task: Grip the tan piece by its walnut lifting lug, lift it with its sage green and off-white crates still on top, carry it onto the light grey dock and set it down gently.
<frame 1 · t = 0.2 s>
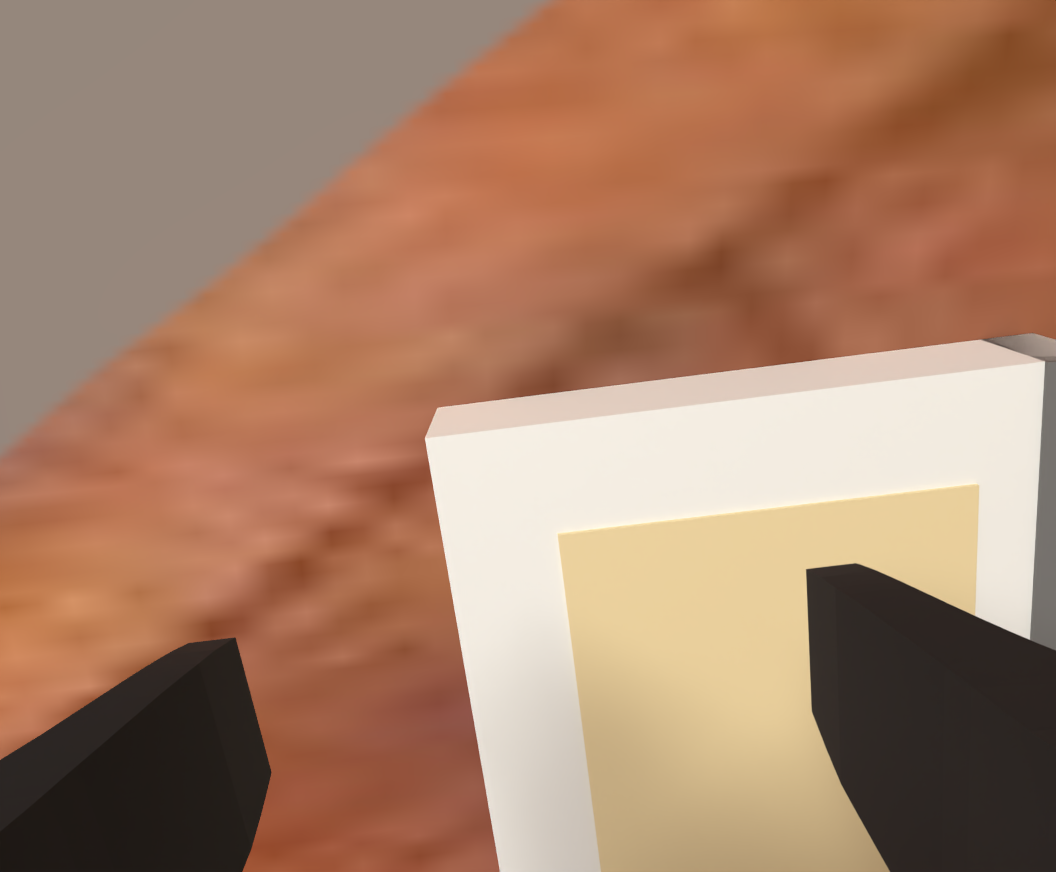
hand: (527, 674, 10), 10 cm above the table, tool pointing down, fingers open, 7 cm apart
dock: (752, 729, 22), on the table
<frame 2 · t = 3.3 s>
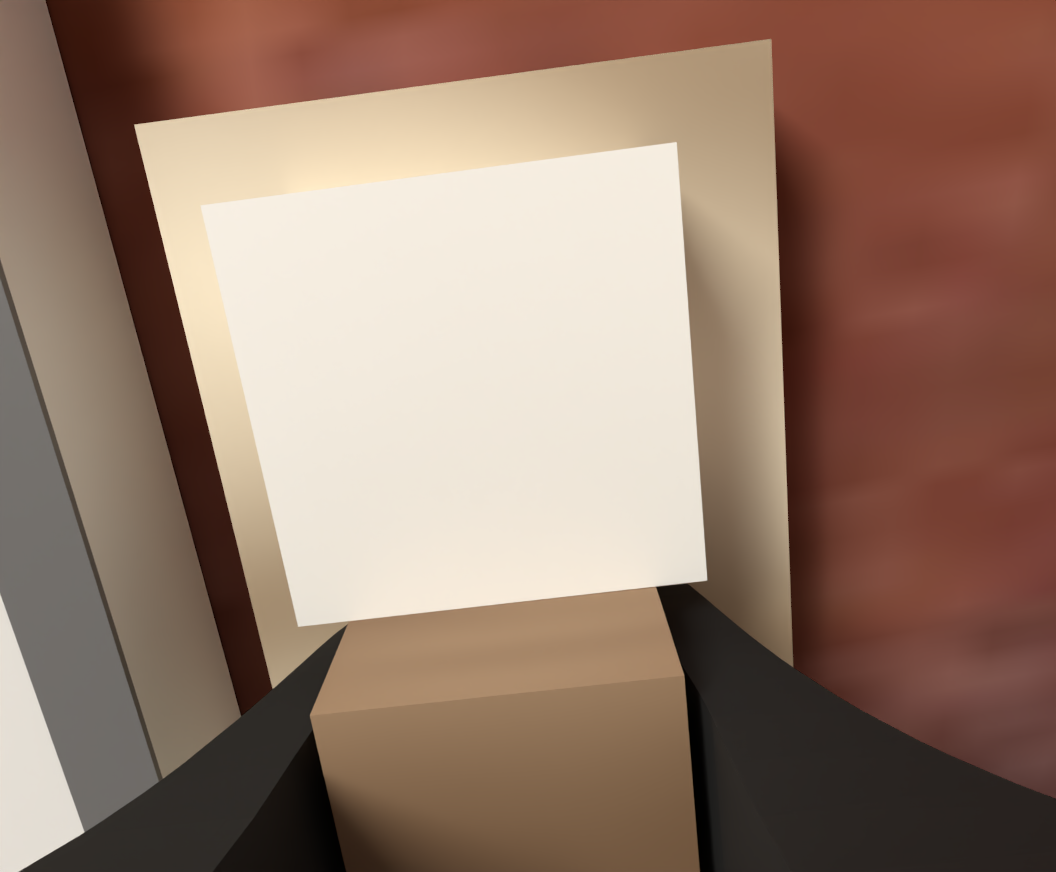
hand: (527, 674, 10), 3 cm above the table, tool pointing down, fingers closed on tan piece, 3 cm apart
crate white: (485, 352, 10), point 2 cm above the table, touching tan piece
tan piece: (527, 578, 13), on the table, touching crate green, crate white, gripper
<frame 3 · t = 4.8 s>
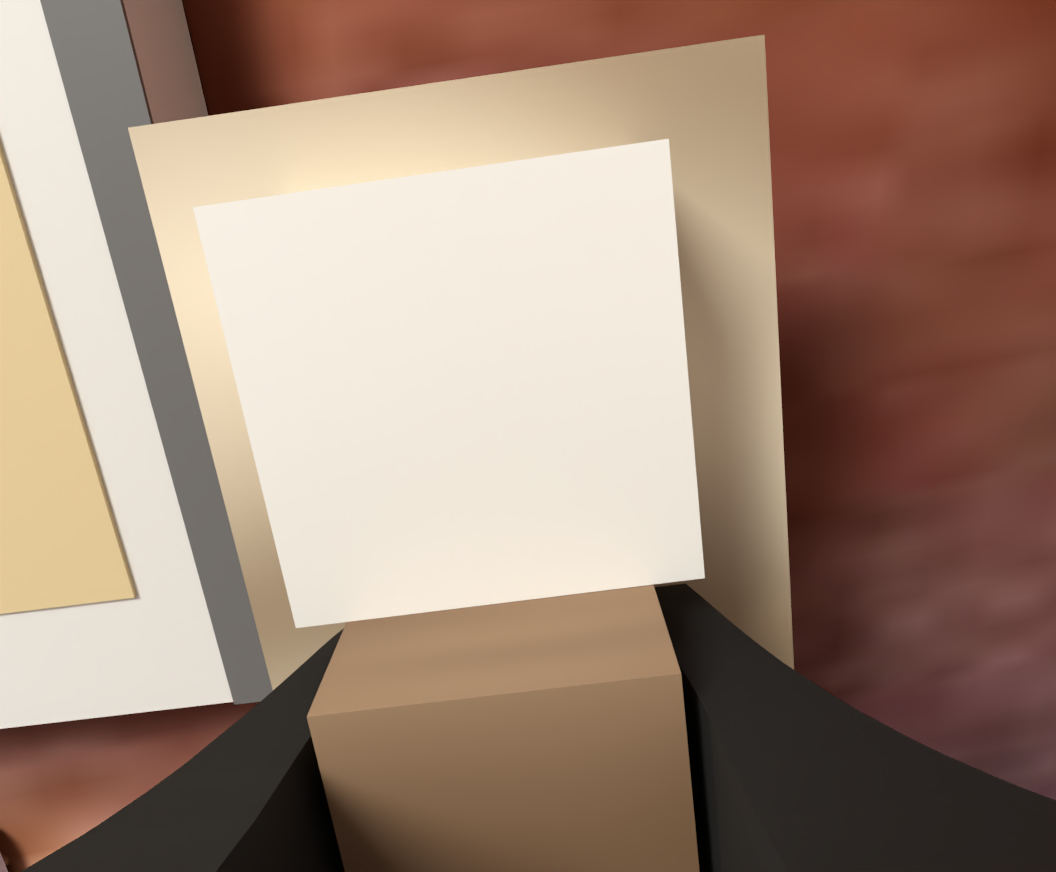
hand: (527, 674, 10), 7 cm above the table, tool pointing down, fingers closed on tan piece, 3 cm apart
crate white: (481, 352, 10), point 7 cm above the table, touching tan piece
tan piece: (527, 578, 13), point 5 cm above the table, touching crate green, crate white, gripper
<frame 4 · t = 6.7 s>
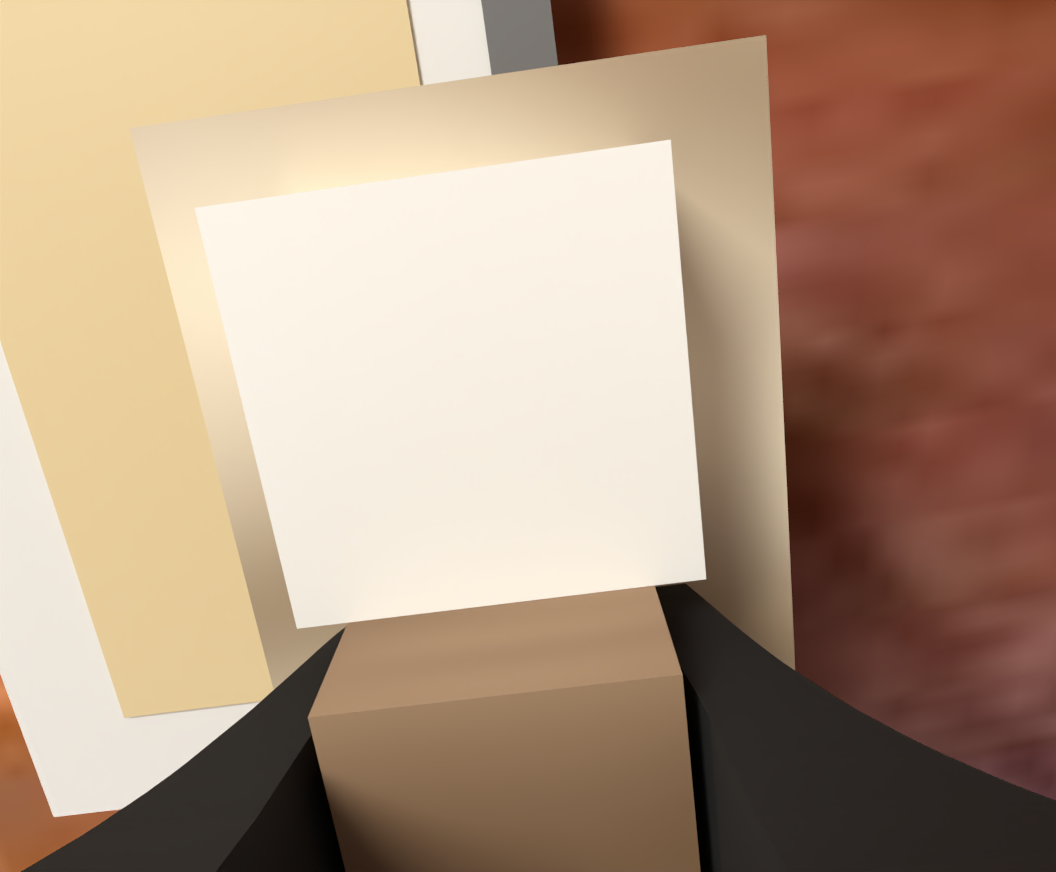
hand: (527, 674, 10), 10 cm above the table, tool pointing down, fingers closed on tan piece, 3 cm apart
dock: (276, 345, 19), on the table
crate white: (482, 352, 10), point 9 cm above the table, touching tan piece
tan piece: (528, 578, 13), point 7 cm above the table, touching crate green, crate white, gripper
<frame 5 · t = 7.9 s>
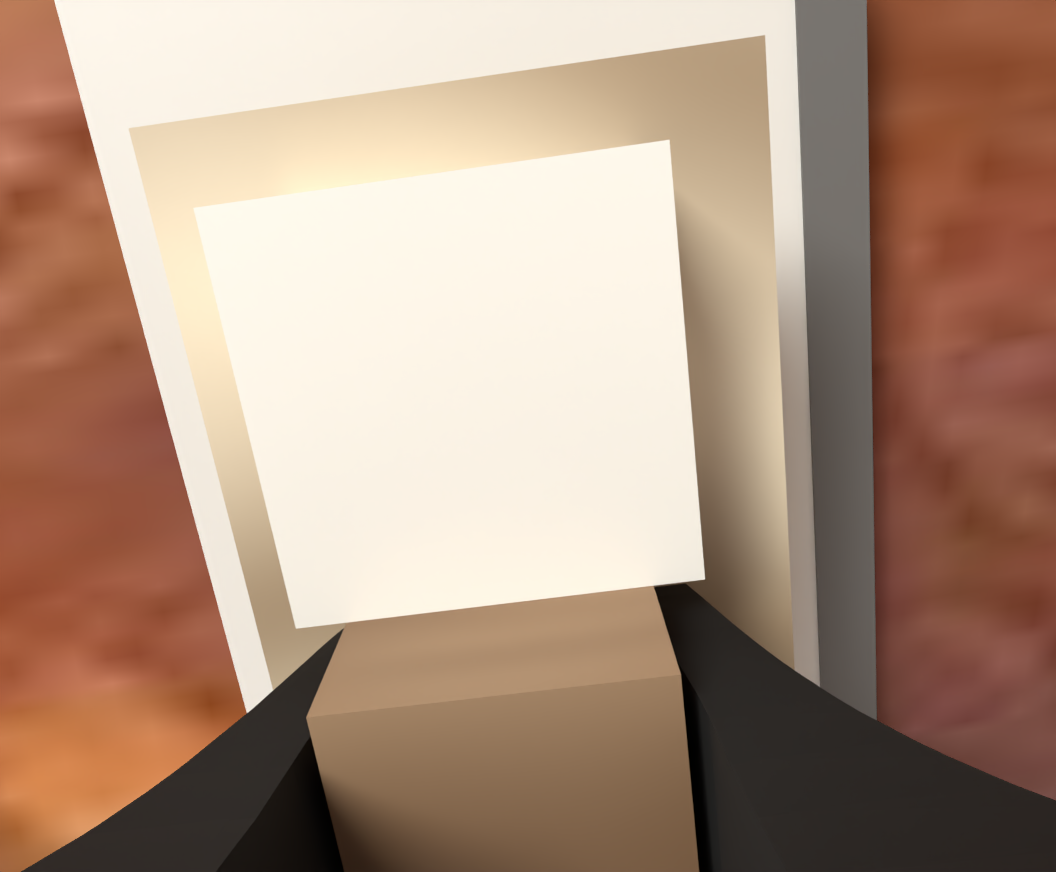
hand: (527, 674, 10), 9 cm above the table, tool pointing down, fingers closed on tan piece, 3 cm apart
dock: (528, 448, 19), on the table
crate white: (482, 352, 10), point 9 cm above the table, touching tan piece
tan piece: (528, 578, 13), point 7 cm above the table, touching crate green, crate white, gripper
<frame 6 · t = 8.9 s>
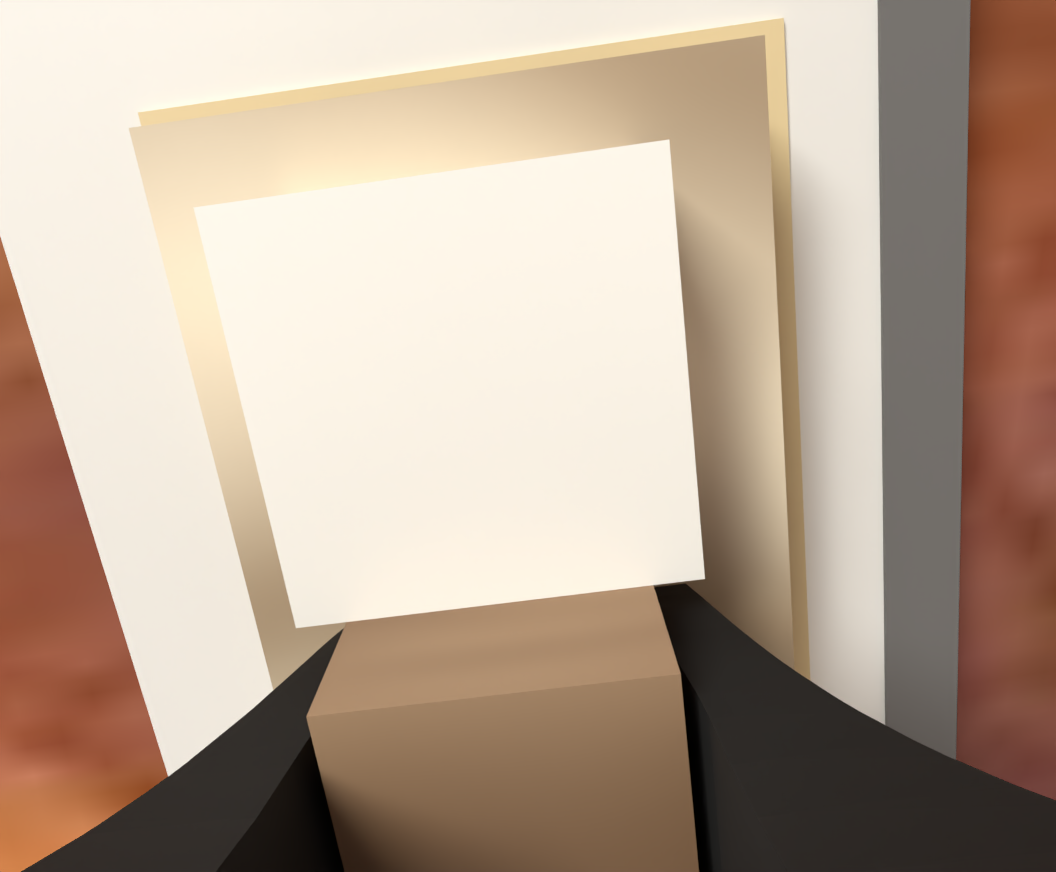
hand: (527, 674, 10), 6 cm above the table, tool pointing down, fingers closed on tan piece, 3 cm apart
dock: (528, 501, 16), on the table
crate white: (481, 352, 10), point 5 cm above the table, touching tan piece
tan piece: (527, 578, 13), point 3 cm above the table, touching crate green, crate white, gripper
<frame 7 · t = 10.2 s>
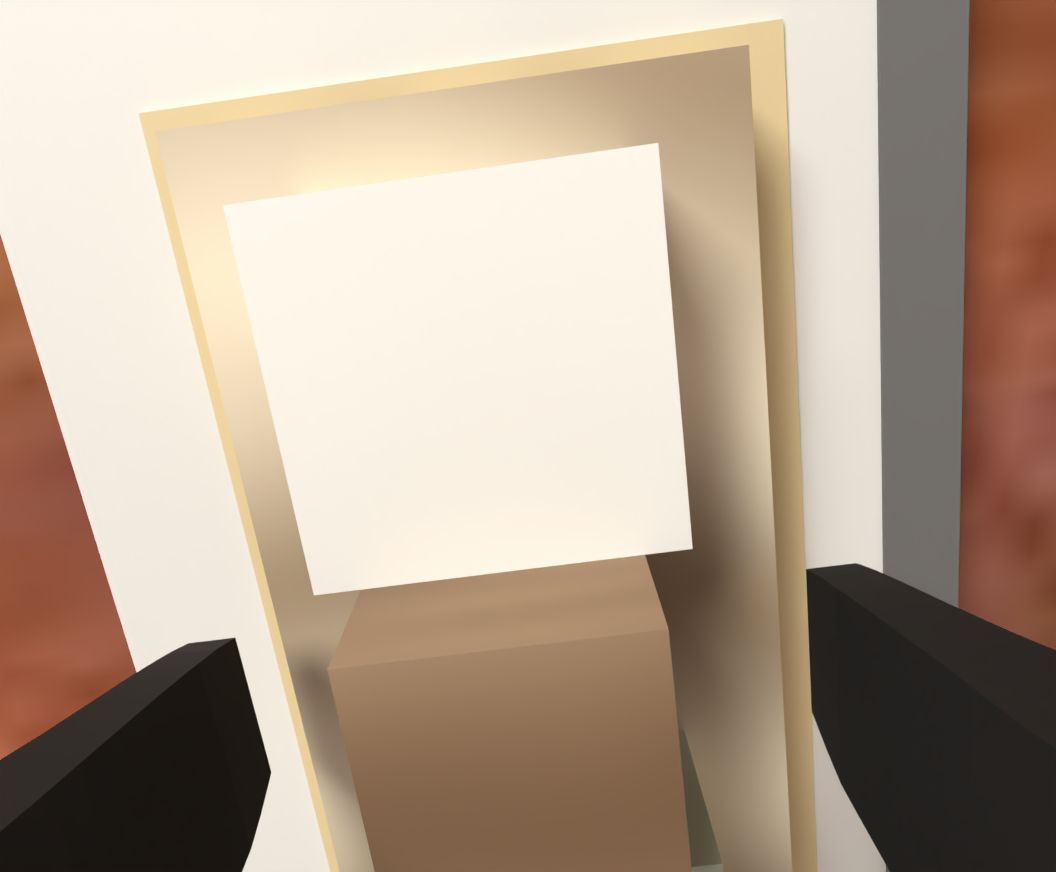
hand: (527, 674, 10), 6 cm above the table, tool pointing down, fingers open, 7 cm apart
dock: (528, 501, 16), on the table
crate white: (485, 341, 10), point 5 cm above the table, touching tan piece
tan piece: (528, 559, 13), point 3 cm above the table, touching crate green, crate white, dock
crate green: (565, 853, 13), point 5 cm above the table, touching tan piece
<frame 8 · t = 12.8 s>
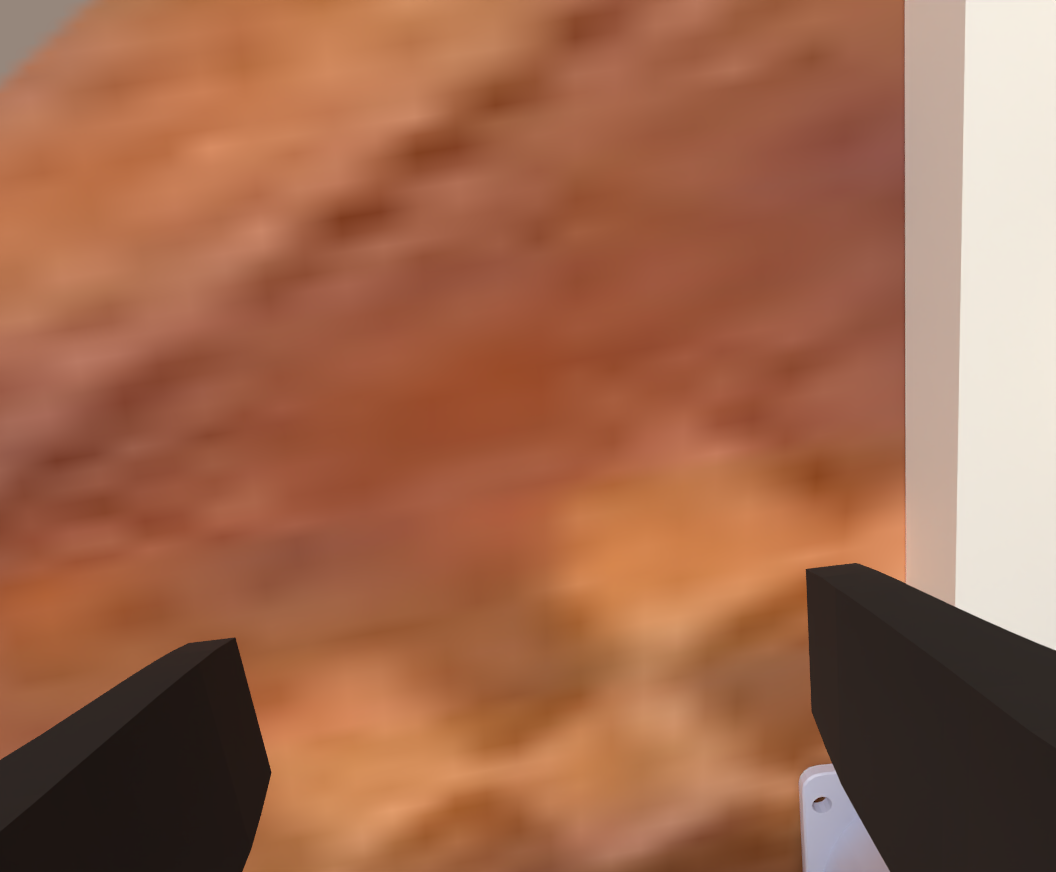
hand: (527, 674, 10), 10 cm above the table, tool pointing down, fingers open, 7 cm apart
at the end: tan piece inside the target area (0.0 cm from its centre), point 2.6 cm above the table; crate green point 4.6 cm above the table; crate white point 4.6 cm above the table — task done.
